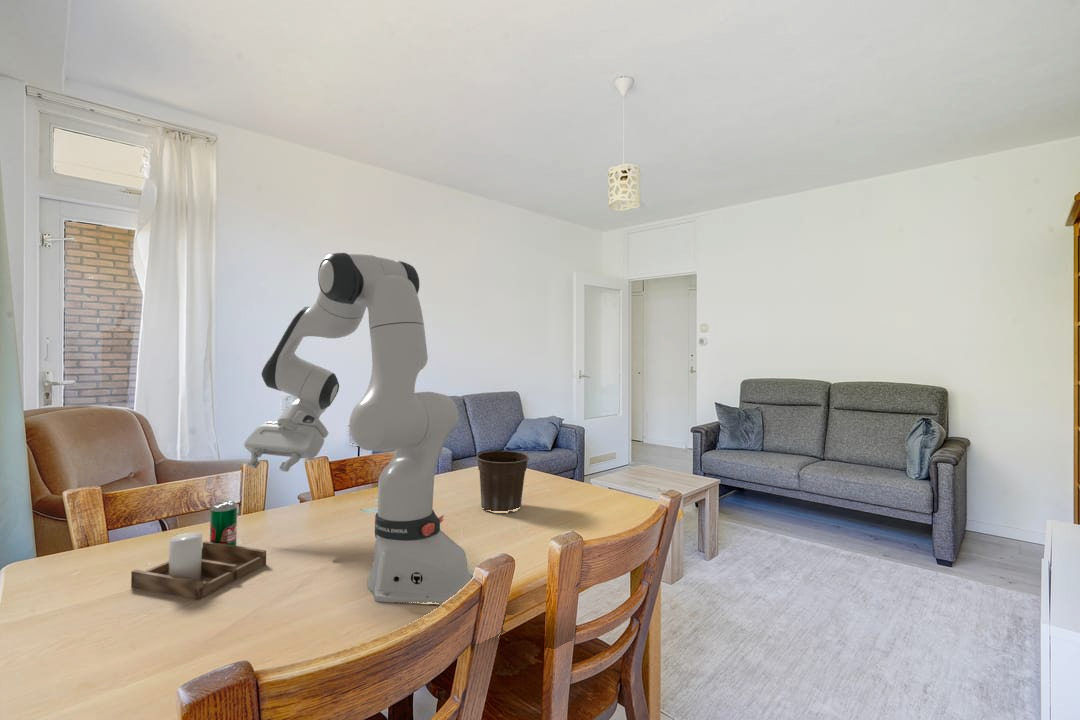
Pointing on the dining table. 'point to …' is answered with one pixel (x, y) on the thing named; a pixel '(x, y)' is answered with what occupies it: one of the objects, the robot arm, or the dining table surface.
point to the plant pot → (501, 479)
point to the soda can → (223, 523)
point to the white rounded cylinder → (186, 556)
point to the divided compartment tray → (203, 571)
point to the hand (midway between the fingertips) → (267, 468)
